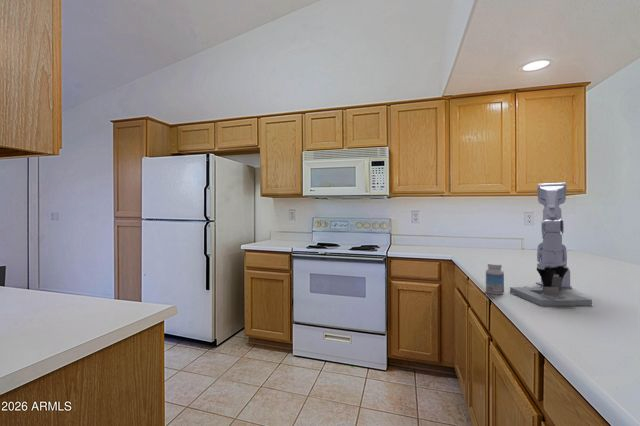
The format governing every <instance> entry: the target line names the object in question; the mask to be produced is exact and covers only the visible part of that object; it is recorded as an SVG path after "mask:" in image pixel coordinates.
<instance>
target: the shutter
mask: <svg viewBox="0 0 640 426" xmlns="http://www.w3.org/2000/svg"><path fill="white" fill-rule="evenodd" d="M542 287H543V294H541V295H542V296H545V297H547V298H550V299H552V300H555V301H575V299H573V298H571V297H568V296H565V295H562V294H559V287H557V286H543V285H542Z"/></svg>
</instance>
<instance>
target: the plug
mask: <svg viewBox="0 0 640 426" xmlns="http://www.w3.org/2000/svg"><path fill="white" fill-rule="evenodd" d="M543 286H544V285H542V287H543ZM552 286H557V287H559V291H562V290H563V288H562V277H559V275H558V274H554V276H553V279H552Z"/></svg>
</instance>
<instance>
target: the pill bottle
mask: <svg viewBox="0 0 640 426" xmlns="http://www.w3.org/2000/svg"><path fill="white" fill-rule="evenodd" d="M502 268H503V265H502V264H501V263H499V262H488V263H487V269H486V270H485V292H486V293H488V294H491V295H503V294H504V293H505V274H504V271H503V270H502Z"/></svg>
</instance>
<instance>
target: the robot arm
mask: <svg viewBox="0 0 640 426" xmlns="http://www.w3.org/2000/svg"><path fill="white" fill-rule="evenodd" d="M566 197H567V182H566V181H562V182H546V183H541V182H540V183H538V184H537V202H538V204H540V205H542V206H543V207H544V208H542V209H543V210H542V221H541V235H542V237H541V238H542V241H541V242H539V244H538V245H537V250H536V261H537V262H538V263H537V264H536V271H537V272H538V274H539V276H540V281H535V283H536V284H538V285H540V286H541V285H542V286H543V285H544V286H552V279H553V276H554V274H558V275H559V277H562V289H563V288H573V286H572V285H571V271H570V268H569V266H568V265H567V264H568V251H567V247H566V245H564V244H563V235H564V231H565V229H564V228H565V227H564V226H565V225H564V222H565V221H564V220H563V217H562V209H561V207H560V205H562V204H564V203H565V201H567V199H566Z"/></svg>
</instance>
